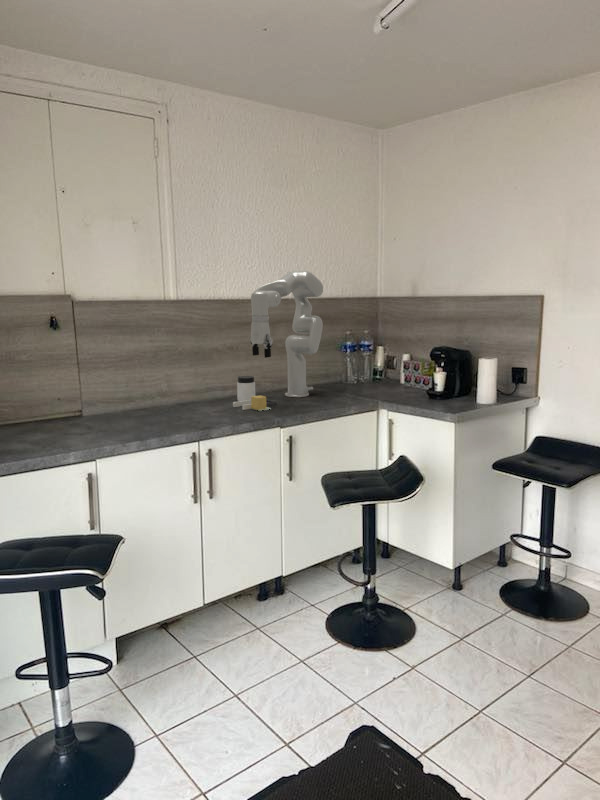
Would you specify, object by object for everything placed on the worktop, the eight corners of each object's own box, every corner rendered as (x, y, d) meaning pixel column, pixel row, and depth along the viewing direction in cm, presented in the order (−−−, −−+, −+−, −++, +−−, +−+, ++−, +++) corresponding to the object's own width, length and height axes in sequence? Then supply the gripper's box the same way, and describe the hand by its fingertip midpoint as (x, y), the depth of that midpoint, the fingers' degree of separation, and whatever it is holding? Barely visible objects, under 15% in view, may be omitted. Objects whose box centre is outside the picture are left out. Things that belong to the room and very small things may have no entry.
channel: (254, 403, 280) (254, 399, 280) (265, 406, 273) (264, 402, 272) (232, 406, 273) (232, 402, 273) (243, 410, 266) (243, 405, 265)
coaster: (263, 407, 272) (263, 405, 272) (271, 409, 267) (271, 408, 267) (251, 408, 268) (251, 407, 268) (259, 411, 263) (259, 409, 263)
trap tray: (267, 402, 284) (267, 399, 284) (276, 404, 278) (276, 402, 278) (255, 403, 280) (255, 401, 279) (264, 406, 274) (264, 403, 274)
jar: (237, 402, 284) (237, 378, 282) (237, 399, 292) (236, 376, 289) (255, 401, 285) (255, 377, 283) (255, 398, 293) (254, 375, 291)
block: (260, 406, 270) (260, 395, 269) (266, 408, 266) (266, 396, 265) (251, 408, 267) (251, 396, 266) (257, 409, 263) (257, 398, 262)
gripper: (243, 318, 268) (244, 355, 272) (264, 320, 255) (265, 358, 258) (256, 317, 272) (257, 353, 276) (278, 319, 259) (279, 357, 263)
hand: (261, 356), depth 267 cm, fingers open, 9 cm apart
